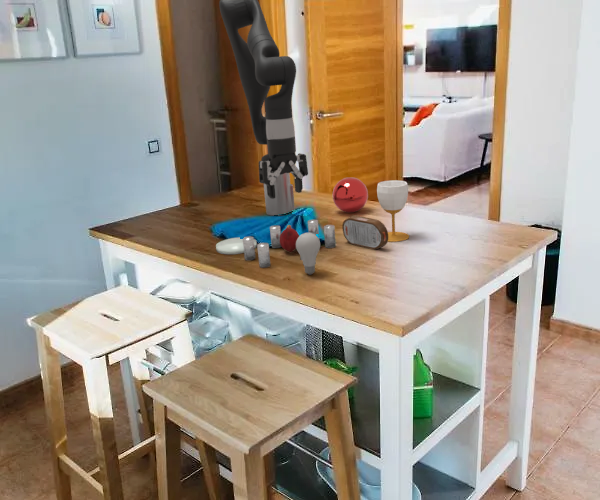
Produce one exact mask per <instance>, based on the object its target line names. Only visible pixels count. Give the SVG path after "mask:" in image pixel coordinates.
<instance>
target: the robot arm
mask: <svg viewBox="0 0 600 500" xmlns="http://www.w3.org/2000/svg"><path fill="white" fill-rule="evenodd" d="M218 3H219V4H218V5H219V11H220V16H221V18H222V20H223V22H222V23H223V25H224V27H225V30H226V33H227V36H228V40H229V41H230V45H231V49H232V52H233V54H234V59H235V62H236V66H237V67H236V68H237V71H238V76H239V80H240V83H241V85H242V90H243V92H244V95H245V98H246V101H247V106H248V110H249V116H250V119H251V120H250V121H251V126H252V130H253V135H254V139H255V141H256V143H258V144H259V145H264V146H265V145H267V154H265V155H262V157H261V160H258V180H259V181H258V182H259V183H260V184H263V191H264V192H263V193H264V200H265V201H264V203H265V210H266V211H265V212H266V213H265V214H266V215H268V216H274V215H278V214H284V213H288V212H290V211H292V210H294V209H295V199H294V197H295V196H294V192H296V193H297V194H299V193H302V190H303V188H304V187H303V178H304V177H305V176H306V177H307V176H308V175H309V169H308V161H307V155H306V154H304V153H301V152H300V153H297V154H296V152H297V147H296V131H295V123H294V119H293V117H294V116H293V105H292V104H293V103H292V102H293V94H294V85H295V82H296V77H297V76H296V75H297V66H296V62H295V60H294V59H293V58H292V57H291V56H285V55H284V56H283V55H282V56H281V54H280V50H279V47H278V45H277V43H276V42H275V40H274V39H273V37H272V35H271V33H270V31H269V27H268V24H267V21H266V18H265V16H264V13H263V10H262V8H261V4H260V2H259V0H219V2H218ZM248 26H251V27H250V29H249V32H248V35H247V39H246V40H244V38H243V37H242V36H241V34H240V33H239V30H240V29H242V28H246V27H248ZM274 86H280V89H279V91H278V92H277V93H274V94H272V95H268V94H269V91H270V88H271V87H274ZM263 106H264V111H265V116H264V115H263ZM296 164H298V167H297V166H296ZM290 174H292V176H293V177H294V180H293V181H294V185H293V184H291V176H290ZM278 216H279V215H278Z"/></svg>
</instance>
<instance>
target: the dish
mask: <svg viewBox="0 0 600 500" xmlns="http://www.w3.org/2000/svg"><path fill="white" fill-rule="evenodd" d="M253 239H254V248H255V249H256V248H257V244H258V243H257V240H256V239H255V238H253ZM215 247H216V248H215V249H216V250H215V251H216V253H219V254H222V255H241V254H244V247H243V239H240V237H231V238H228V239H227V238H226V239H224V240H221V241H219V242H218V243H216V245H215Z"/></svg>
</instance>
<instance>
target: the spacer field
mask: <svg viewBox="0 0 600 500" xmlns="http://www.w3.org/2000/svg"><path fill="white" fill-rule="evenodd" d="M307 229H308V230H307V231H308V232H307V233H313V234H315V235H316V234H319V233H320V230H319V220H318V219H309V220H307ZM335 230H336V227H335V225H334V224H326V225H324V226H323V234H324V236H323V237H324V247H325V248H328V249H333V248H336V246H337V245H336V231H335ZM269 231H270V232H269V233H270V234H269V235H270V242H271V248H272V249H280V248H282V246H281V245H280V235H281V233H282V231H281V226H280V225H275V224H274V225H271V226H269ZM319 235H320V234H319ZM254 239H255V238H254V236H244V238H243V247H244V253H243V255H244V260H245V261H254V260H256V248H257V254H258V255H257V257H258V266H259V268H270V267H271V258H270V246H269V243H268V242H260V243H257V247H256V248H254ZM299 255H300V254H299ZM299 258H300V261H303V260H302V257H301V255H300V257H299Z"/></svg>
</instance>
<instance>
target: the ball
mask: <svg viewBox="0 0 600 500" xmlns="http://www.w3.org/2000/svg"><path fill="white" fill-rule="evenodd" d="M332 190H333V191H332V200H333V203H334V205H335V206H336V208H337V209H339V211H341V212H344V213H348V214H349V213H351V214H352V213H357V212H358V211H360V210H362V209H363V208H364V207H365V206H366V204H367V202H368V198H369V193H368V192H369V191H368V188H367V186H366V184H364V182H363V181H362V180H360V179H359V178H357V177H343V178H342V179H340V180H339V181H338V182H337V183H336V184H335V185H334V187H333V189H332Z"/></svg>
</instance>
